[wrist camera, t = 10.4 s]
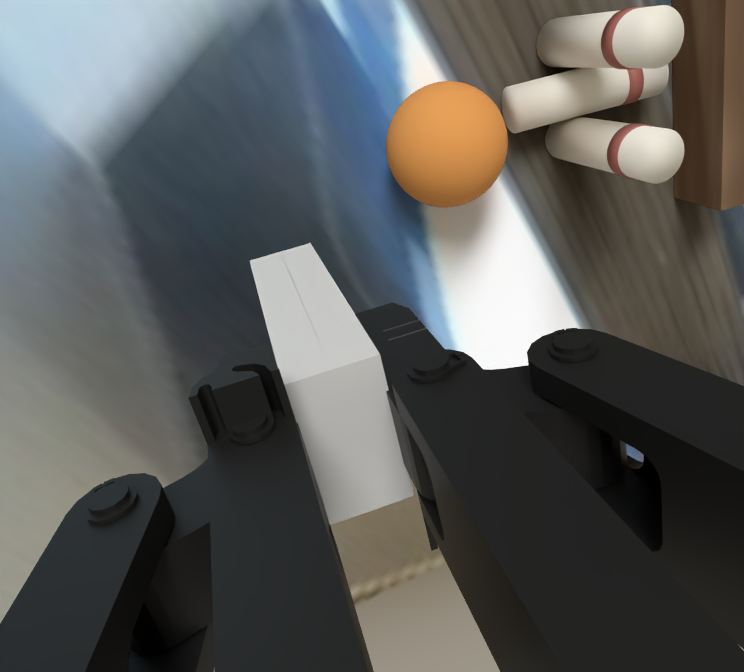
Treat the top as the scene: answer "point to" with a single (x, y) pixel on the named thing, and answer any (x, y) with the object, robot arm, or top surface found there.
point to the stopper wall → (710, 103)
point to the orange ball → (446, 144)
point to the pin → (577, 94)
